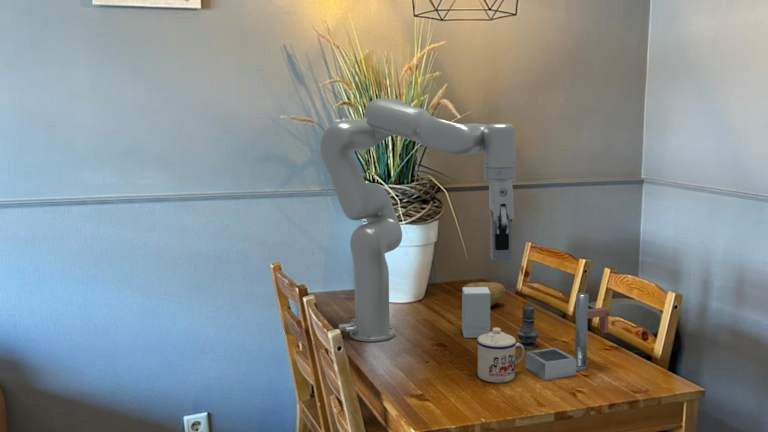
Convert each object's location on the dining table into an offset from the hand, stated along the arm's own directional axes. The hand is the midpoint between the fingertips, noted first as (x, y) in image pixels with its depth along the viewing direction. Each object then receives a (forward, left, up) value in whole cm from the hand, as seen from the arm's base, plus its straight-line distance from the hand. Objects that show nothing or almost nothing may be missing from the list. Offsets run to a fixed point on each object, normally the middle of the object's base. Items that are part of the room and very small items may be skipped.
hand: (500, 247), depth 176 cm
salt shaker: (+11, +4, -28) cm, 31 cm away
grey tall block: (0, 0, -3) cm, 3 cm away
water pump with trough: (+11, -14, -28) cm, 33 cm away
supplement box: (+3, +18, -28) cm, 34 cm away
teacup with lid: (-6, -12, -28) cm, 31 cm away
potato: (+18, +41, -28) cm, 53 cm away
